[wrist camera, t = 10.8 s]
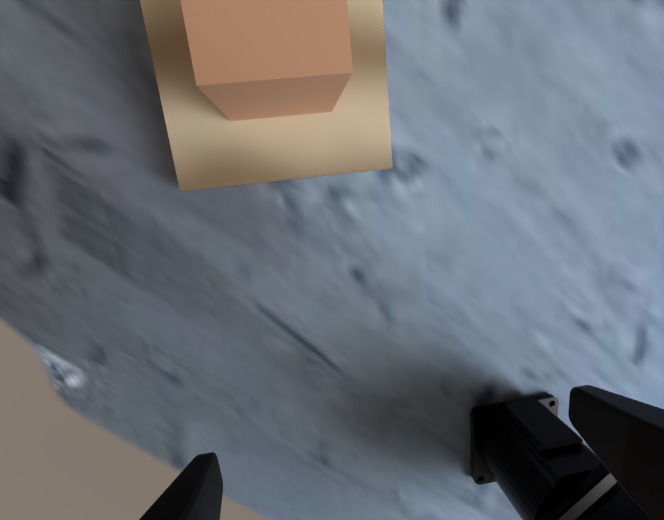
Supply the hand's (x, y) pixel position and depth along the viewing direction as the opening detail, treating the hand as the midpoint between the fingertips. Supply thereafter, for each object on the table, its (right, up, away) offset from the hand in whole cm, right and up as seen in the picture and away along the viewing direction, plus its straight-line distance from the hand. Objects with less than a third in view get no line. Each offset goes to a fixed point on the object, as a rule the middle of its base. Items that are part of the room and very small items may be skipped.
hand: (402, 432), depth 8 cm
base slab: (-5, +14, +10) cm, 18 cm away
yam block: (-4, +14, +8) cm, 16 cm away
